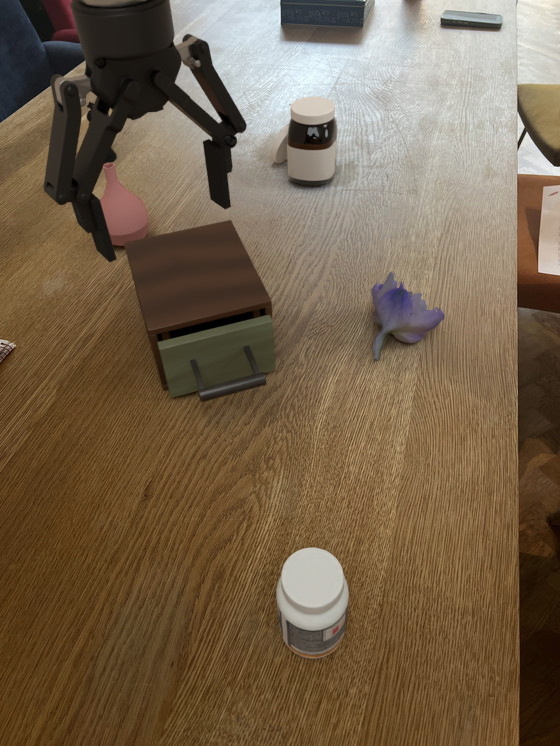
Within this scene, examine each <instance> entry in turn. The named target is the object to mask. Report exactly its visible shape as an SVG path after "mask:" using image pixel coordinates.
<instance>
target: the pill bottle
mask: <svg viewBox="0 0 560 746" xmlns="http://www.w3.org/2000/svg"><path fill="white" fill-rule="evenodd" d="M275 592H276V593H275V599H276V607H277V617H278V618H277V619H278V627H279V632H280V636H281V639H282V640H283V642H284V644H285V645H286V647H287V648H288V649H289V650H290V651H292V652H293V653H294V654H296V655H298V656H300V657H302V658H304V659H305V658H306V659H322V658H324V657H325V658H326V657H327V656H329V655H331V654H332V653H333V652H335V651H336V650H337V649H338V647H339V646H340V645H341V643H342V641H343V639H344V638H345V635H346V629H347V619H348V611H349V610H348V609H349V599H350V593H349V592H350V591H349V585H348V581H347V580H346V577H345V574H344V570H343V567H342V565H341V563H340V561H339V560H338V558H336V556H335V555H334V554H332V553H331V552H329V551H327V550H326V549H323V548H319V547H304V548H301V549H298V550H297V551H295V552H293V553H292V554H291V555H290V556H288V558H287V559H286V560H285V562H284V563H283V566H282V568H281V573H280V576H279V579H278V582H277V585H276V590H275Z"/></svg>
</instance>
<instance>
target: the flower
mask: <svg viewBox="0 0 560 746" xmlns="http://www.w3.org/2000/svg"><path fill="white" fill-rule="evenodd" d="M395 275H396V273H395V272H392V271H390V272H389V273H388V274H387V277H386V278H385V279H384V283H379V282H378V281H376V282H375V284H374V285H373V286H372V287H371V290H370V291H371V292H370V293H371V301H372V305H373V307H374V317H373V320H374V323H375V324H377V325H378V326H379V327H380V331H379V333H377V335H375V337H374V340H373V343H372V352H373V361H375V362H379V361H380V359H381V353H382V351H383V348H384V347H385V344H386V340H387V337H388V335H389V334H392V335H393V336H394V338H396V339H397V340H398V341H400V342H402V343H406V344H415V343H418V342H420V341H422V340H423V338H424V337H425V335H427V334H428V333H430V332H432V331H434V330H435V329H436V328H437V327H438V326H439V325H440V324H441V322H443V320H445V317H446V315H445V313H444V311H443V310H442V308H441V307H439V308H438V306H436V307H434V308H432V309H428V305H427V302H426V300H425V299H422V297H423V293H422V292H417V293H414V294H413V292H412V291H411V290H410V291H408V290H407V289H406V288H405V285H404V283H403V281H402V280H400V282H399V286H398V280H395V279H394V278H395Z"/></svg>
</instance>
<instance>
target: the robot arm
mask: <svg viewBox="0 0 560 746" xmlns="http://www.w3.org/2000/svg"><path fill="white" fill-rule="evenodd" d="M70 9H71V13H72V17H73V21H74V25H75V29H76V33H77V36H78V40H79V44H80V48H81V51H82V55H83V57H84V61H85V67H84V68H85V69H84V74H81V75H76V76H69V77H65V76H63V75H62V74H58V73H56V74H53V75H52V76H51V77H50V81H49V82H50V89H51V93H52V99H53V104H54V108H53V115H52V122H51V130H50V135H49V136H50V137H49V144H48V145H49V146H48V151H47V158H46V164H45V165H46V166H45V173H44V182H43V191H44V193H46V194H47V195H48V196H49V197H50V198H51V199H52V200H53V201H54V202H55V203H56V204H58V205H59V206H64V205H67V203H71V207H72V210H73V212H74V214H75V218H76V223H77V224H78V225H79V227H80V228H81V229H82V230H83V231H85V233H87V234H88V235H89V234H91V237H92V241H93V243H94V247H95V249H96V251H97V252H98V253H99V254H100V255H101V256H102V257H103V258H104V259H106V261H107V262H108V263H112V262H114V261H116V260H117V256H116V251H115V247H114V245H112V241H111V238H110V234H109V231H108V227H107V224H106V220H105V217H104V213H103V209H102V206H101V202H100V199H101V198H99V197H97V195H95V194H94V193H93V192H94V190H95V188H96V185H97V182H98V180H99V178H100V176H101V173H102V171H103V166H104V163H105V161H106V159H107V156H108V154H109V151H110V149H111V148H112V147H113V144H114V141H115V139H116V137H117V136H118V134H119V133H121V132H122V131H123V130H124V127H125V124H126V122H127V119H128V120H131V121H136V120H138V119H141V118H142V117H144V116H145V115H147V114H148V113H158V112H160V111H163V110H164V107H165V105H167V103H170V104H171V105H172V106H174V107H175V109H177V110H178V111H180V113H182V114H183V115H184V116H185V117H186V118H187V119H189V120H190V121H191V122H192V123H194V124H195V125H196V126H197V127H198V128H200V129H201V130H202V131H203V132H204V133H205V134H207V135H208V136H209V137H211V139H210V138H207V139H205V140H202V147H203V154H204V161H205V168H206V176H207V184H208V190H209V191H208V192H209V199H210V200H211V201H212V202H213V203H215V204H217V206H219V207H220V208H221V209H223V210H227V209H228V210H229V208H232V205H231V204H232V203H231V194H230V186H229V175H228V174H230V173H232V171H233V166H234V165H233V158H232V149H234V148H236V146H237V143H238V138H237V136H236V135H237V134H243V133H245V131H246V130H247V127H248V126H247V122H246V120H245V119H244V117H243V115H242V113H241V112H240V110H239V108H238V105H236V102H235V101H234V99H233V97H232V96H231V94H230V92H229V91H228V89H227V87H226V86H225V83H224V82H223V80H222V79H221V76H220V75H219V74H218V72H217V70H216V68H215V67H214V64H213V59H212V55H211V50H210V45H209V43H208V42H207V41H206V40H204V39H202V38H200V37H198V36H195V35H193V34H190V33H186V34H185V35H184V36H183V37H182V40H181V43H178V44H175V41H174V39H175V28H174V21H173V14H172V7H171V0H71V2H70ZM182 64H183V66H185V67H187V68H189V71H190V72H191V74H192V75H193V77H194V78H195V80H196V82H197V84H198V85H199V86H200V88H201V90H202V91H203V93H204V94H205V97H206V98H207V100H208V101H209V103H210V104H211V106H212V107H213V109H214V110H215V113H216V114H217V116H218V117H219V119H220V120H221V121H220V122H218V120H216V119H215V118H214V117H212V116H211V114H209V113H208V112H207V111H206V110H205V109H204V108H202V107H201V106H200V105H199V104H198V103H197V102H196V101H194V99H192V98H191V96H190V95H189V94H188V93H187V92H185V90H184V89H182V88H181V87H180V86H179V85H178V84H177V83H176V81H177V78H178V75H179V73H180V70H181V68H182ZM90 92H91V93H92V94H93V95H94V96H96V99H95V100H94V102H93V103H94V105H93V108H92V111H91V117H92V119H91V122H90V124H89V123H88V124H89V125H88V127H87V130H86V132H85V134H84V136H83V139H82V141H81V144H80V146H79V149H78V144H79V138H80V132H81V126H82V115H83V114H82V112H83V111H82V107H85V106H87V96H88V95H89V93H90ZM110 110H111V113H109V112H110ZM77 151H78V152H77Z"/></svg>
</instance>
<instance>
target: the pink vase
mask: <svg viewBox="0 0 560 746" xmlns="http://www.w3.org/2000/svg"><path fill="white" fill-rule="evenodd" d="M102 170H103V172H104V175H105V180H106V184H105V187H104V190H103V194H102V196H101V198H99V199H100V202H101V206H102V209H103V213H104V217H105V220H106V224H107V227H108V231H109V234H110V238H111V241H112V245H113V246H122V247H123V246H124V242H129V241H133V240H138V239H143V238H146V236H147V235H148V231H149V224H150V213H149V212H148V209H147V207H146V205H145V202H144V200H143V199H142V198H141V197H140V196H139V195H137V194H135V193H133V192H131V191H130V190H129V189H128V188H126V186H124V184H123V183H122V182H121V181H120V180H119V178H118V174H117V170H116V166H115V163H114V162H111V163H106V164H104V166H103V168H102ZM124 247H125V246H124Z"/></svg>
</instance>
